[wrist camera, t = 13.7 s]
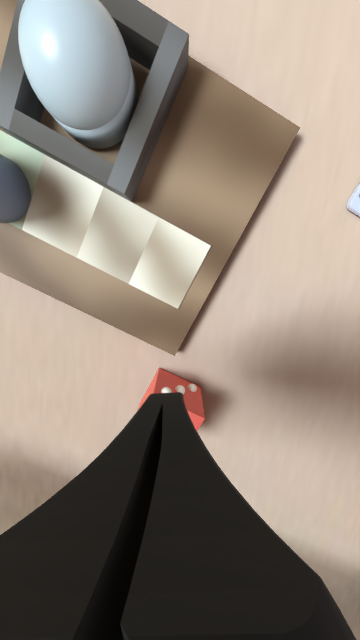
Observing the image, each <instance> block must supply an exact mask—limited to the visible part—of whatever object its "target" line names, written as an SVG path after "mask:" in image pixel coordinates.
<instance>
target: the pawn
mask: <svg viewBox="0 0 360 640" xmlns="http://www.w3.org/2000/svg"><path fill="white" fill-rule="evenodd" d="M30 200H31V192H30V186H29V183H28V180H27V178H26V176H25V174H24V173H23V171H22V170H21V169H20V168H19V167H18V166H17V165H16V164H15V163H14V162H13V161H11V160H10V159H8V158H6V157H5V156H3V155H1V154H0V222H1V223H11V222H15V221H17V220H19V219H20V218H21V217H23V216H24V214H25V213H26V212H27V210H28V208H29V205H30Z"/></svg>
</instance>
